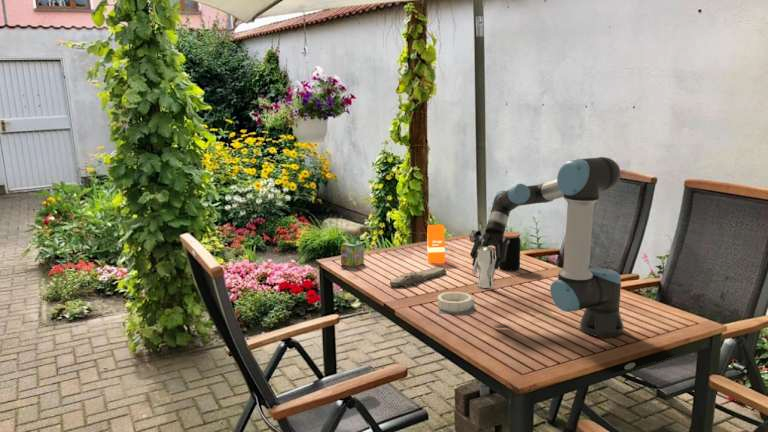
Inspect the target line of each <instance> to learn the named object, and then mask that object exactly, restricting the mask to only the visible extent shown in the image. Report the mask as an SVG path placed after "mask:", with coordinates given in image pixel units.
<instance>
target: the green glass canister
mask: <svg viewBox="0 0 768 432" xmlns="http://www.w3.org/2000/svg"><path fill="white" fill-rule="evenodd" d="M352 240H353V241H352ZM364 245H365V244H364V242H358V241H357V237H354V236H349V237H348V241H347V242H344V243H341V244H340V265H341V264H343V265H342V266H344V265H347V266H346V267H349V266H356V267H358V266H357V265H359V266H361V265H364V264H365V257H364V256H365V252H364V250H365V249H364ZM363 263H364V264H363ZM360 264H361V265H360Z"/></svg>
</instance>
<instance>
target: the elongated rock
mask: <svg viewBox="0 0 768 432" xmlns="http://www.w3.org/2000/svg"><path fill="white" fill-rule="evenodd" d="M446 273H447V270H446V268H445V267H432V268H429V269H428V268H427V269H426V270H421V271H417V272H415V271H410V272H407V273H405V274H402V275H399V276H397V277H395V278H393V279H391V280H390V281H389V285H390V286H391V287H396V288H400V287H399V286H401V287H406V286H405V285H408V286H411V285H410V284H412V285H415V284H414V283H416V284H418V283H421V282H423V281H425V280H430V278H431V279H433V278H437V276H438V277H441V276H443V275H446ZM440 275H441V276H440ZM417 282H418V283H417Z"/></svg>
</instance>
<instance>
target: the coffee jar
mask: <svg viewBox="0 0 768 432" xmlns="http://www.w3.org/2000/svg"><path fill="white" fill-rule="evenodd" d="M503 237H504V238H509V241H510V243H509V244H508V247H507V253H506V260H505V262H500V264H499V268H498V269H499V270H501V271H504V272H505V271H506V272H514V271H518V270H519V268H520V266H521V238H520V237H521V233H519V232H516V231H505V232H504V235H503ZM502 248H503V241H502V242H501V243H499V253H500V257H501V254H502Z"/></svg>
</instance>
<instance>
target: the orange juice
mask: <svg viewBox="0 0 768 432" xmlns="http://www.w3.org/2000/svg"><path fill="white" fill-rule="evenodd" d="M426 232H427V233H426V235H427V236H426V238H427V239H426V241H427V244H426V245H427V262H428V264H445V262H446V257H445V256H446V249H445V248H446V246H445V244H446V243H445V242H446V241H445V240H446V239H445V237H446V236H445V225H444V224H427V231H426Z"/></svg>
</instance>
